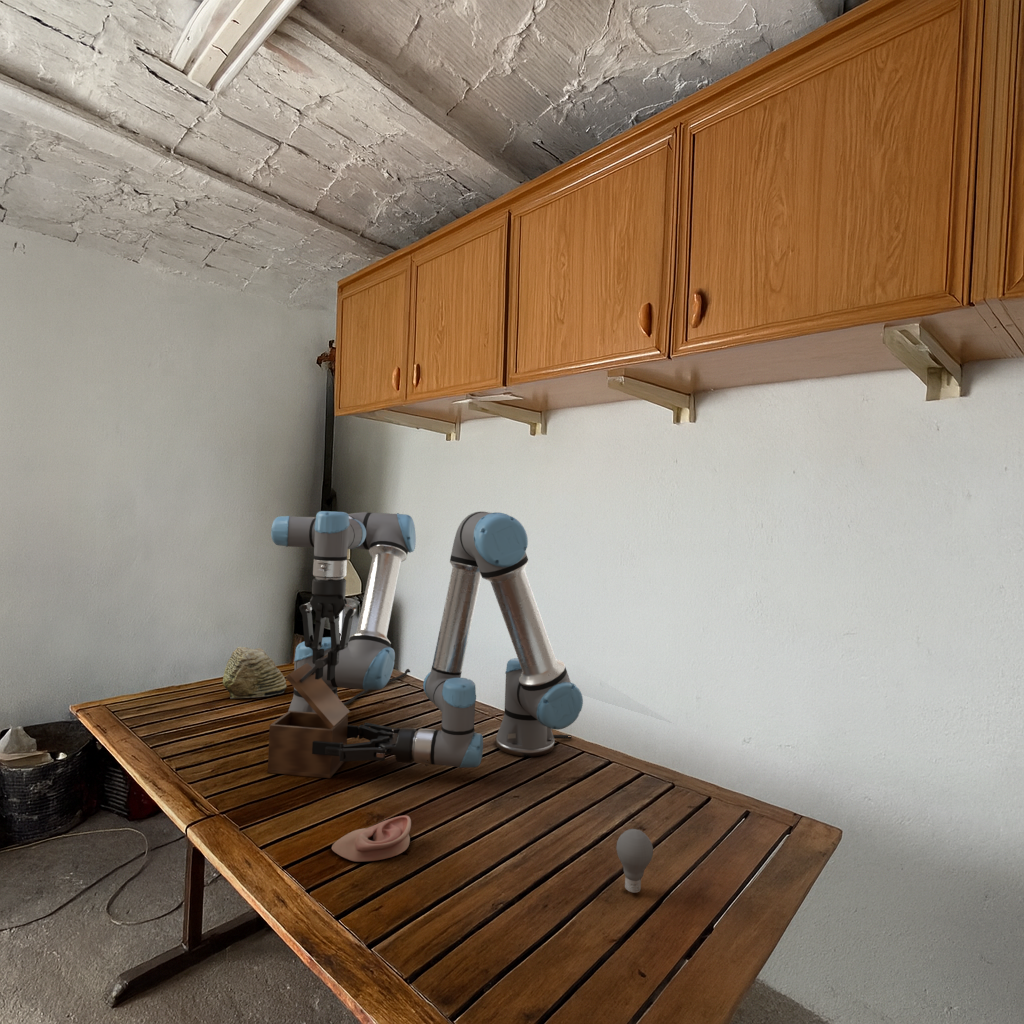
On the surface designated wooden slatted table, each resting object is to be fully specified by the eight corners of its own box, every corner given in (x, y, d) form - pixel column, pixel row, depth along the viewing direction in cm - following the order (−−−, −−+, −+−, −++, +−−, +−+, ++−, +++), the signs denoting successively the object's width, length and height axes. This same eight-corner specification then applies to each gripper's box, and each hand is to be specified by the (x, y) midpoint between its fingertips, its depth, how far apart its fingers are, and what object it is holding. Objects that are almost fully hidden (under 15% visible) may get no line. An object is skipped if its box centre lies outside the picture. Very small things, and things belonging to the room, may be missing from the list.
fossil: (218, 695, 195) (220, 647, 195) (278, 685, 208) (279, 640, 207) (228, 703, 189) (230, 653, 188) (289, 692, 201) (290, 645, 201)
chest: (267, 772, 144) (269, 725, 144) (287, 754, 154) (289, 710, 154) (330, 778, 143) (332, 730, 142) (346, 760, 153) (348, 715, 153)
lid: (285, 677, 143) (311, 652, 143) (304, 665, 153) (329, 642, 153) (330, 729, 142) (357, 704, 142) (346, 714, 153) (371, 691, 152)
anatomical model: (323, 834, 111) (353, 804, 123) (323, 856, 111) (352, 824, 123) (394, 845, 109) (418, 814, 120) (393, 868, 109) (417, 834, 120)
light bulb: (610, 879, 108) (613, 822, 108) (644, 879, 109) (647, 822, 109) (619, 902, 102) (622, 840, 102) (655, 901, 103) (658, 840, 103)
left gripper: (291, 577, 144) (286, 680, 145) (355, 581, 143) (350, 685, 143) (305, 573, 152) (300, 671, 152) (366, 577, 150) (361, 676, 151)
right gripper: (401, 783, 135) (301, 775, 137) (426, 743, 157) (339, 736, 159) (403, 748, 134) (302, 740, 137) (427, 713, 157) (340, 706, 159)
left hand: (324, 678), depth 148 cm, fingers closed on lid, 2 cm apart
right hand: (322, 738), depth 148 cm, fingers closed on chest, 10 cm apart
